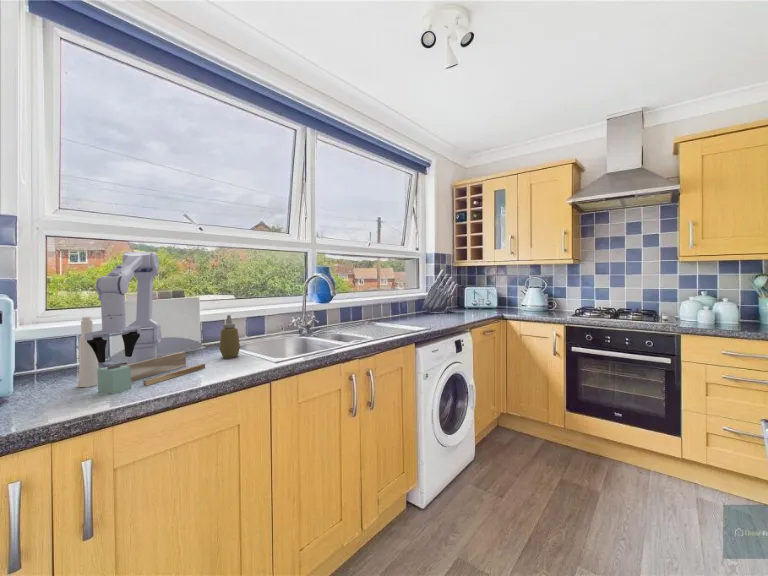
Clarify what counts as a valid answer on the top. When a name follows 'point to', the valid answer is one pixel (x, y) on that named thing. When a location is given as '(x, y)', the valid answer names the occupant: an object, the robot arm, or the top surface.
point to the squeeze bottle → (229, 339)
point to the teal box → (114, 379)
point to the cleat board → (161, 368)
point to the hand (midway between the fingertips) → (115, 359)
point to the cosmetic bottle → (87, 358)
